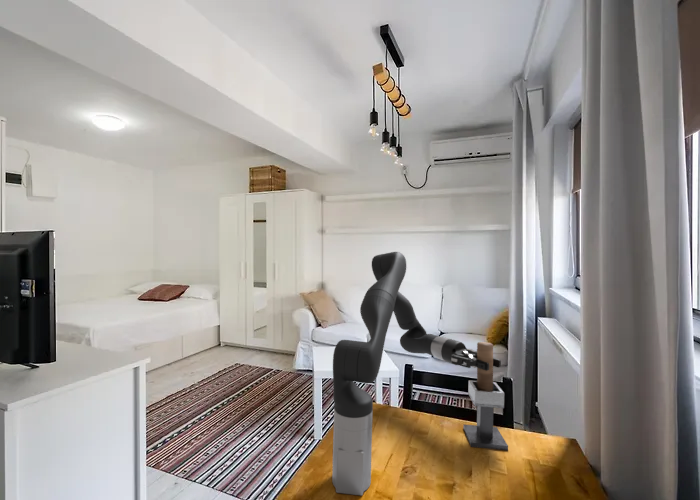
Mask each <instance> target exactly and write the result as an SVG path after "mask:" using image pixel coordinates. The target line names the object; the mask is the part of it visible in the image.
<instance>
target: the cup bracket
mask: <svg viewBox="0 0 700 500" xmlns="http://www.w3.org/2000/svg"><path fill="white" fill-rule="evenodd" d="M467 391H468V393H467V394H468V396H469V397H470V400H471V402H472V404H473V405H474V406H475V407H477V408H476V425H475V424H474V425H472V424H465V423H464V424H463V427H462V428H463V431H464V432H465V436H466V438H467V440H468V443H469V446H470V448H480V449H489V450H490V449H491V450H492V449H493V450H502V451H509V445H508V443H507V442H506V440H505V438H504V437H503V435H502V434H501V432H500V430H499V429H498V427H496V426H494V408H496V409H505V392H504V391H503V389H502V388H501V387H500V386H499V385H498V383H497V382H494V381H493V391H483V390H477V380H468V390H467Z"/></svg>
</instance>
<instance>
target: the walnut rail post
mask: <svg viewBox="0 0 700 500" xmlns="http://www.w3.org/2000/svg"><path fill="white" fill-rule="evenodd" d="M476 348H477V349H476V351H477V360H481V361H484V362H487V363H489V370H488V371H486V370H483V369H480V368H477V367H476V374H477V375H476V381H477V390H483V391H493V382H494V366H493V358H494V344H493V343H491V342H487V341H479V342H477V343H476Z"/></svg>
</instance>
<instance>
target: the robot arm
mask: <svg viewBox="0 0 700 500" xmlns="http://www.w3.org/2000/svg"><path fill="white" fill-rule="evenodd" d="M371 269H372V270H371V271H372V273H373V275H374V277H375V280H376V282H374V283H373V284H372V285H371V286H370V287H369V288H368V289H367V290H366V292H365V295H364V296H363V299H362V301H361V305H360V310H359V312H360V316H361V318H362V321H363V323H364V326H365V327H366V329H367V331H368V334H369V336H370V337H369V338H370V339H369V340H368V341H361V340H360V341H359V340H351V339H350V340H349V339H339V341H337V343H336V345H335V347H334V350H333V355H332V356H333V357H332V380H333V381H332V383H333V384H332V386H333V387H332V389H333V390H332V392H333V393H332V395H333V405H334V406H333V434H332V435H333V438H332V441H333V442H332V475H331V476H332V477H331V478H332V481H331V483H332V485H333V487H335V493H337V494H345V495H354V496H363V495H364V492H365V491H367V490H368V489H369V488H370V486H371V482H372V451H373V450H372V448H373V445H372V444H373V442H372V441H373V406H374V404H373V403H374V401H373V398H372V396H371V394H370V393H368V392H367V391H366V390H364V389H362V388H361V387H359V386H358V385H357V384H356V382H357V383H361V384H372V383H374V382H375V381H376V379H377V377H378V375H379V373H380V368H381V362H382V358H383V352H384V348H385V347H384V346H385V342H386V336H387V333H388V328H389V326H390V322H391V319H392V315H393V314H394V316H395V319H396V323H397V324H398V326H399V328H400V329H402V330H404V331H406V332H404V333H403V334H402V335H401V337H400V339H399V344H400V346H401V347H402V349H404V351H406V352H408V353H412V354H423V355H424V354H427V355H430V356H432V357H435V358H437V359H439V360H441V361H444V362H447V363H449V364H452V365H455V366H459V367H464V368H467V369H470V368H471V367H472V368H474V369H475V368H476V369H477V368H480V369H483V370H486V371H488V370H489V363H487V362H484V361H481V360H477V350H473V349H472V348H467V347H466V344H464V343H463V341H459V340H455V339H452V338H449V337H444V336H439V335H437V334H436V335H435V334H434V333H427V331H426V329H425V328H424V327H423V325H422V324H421V323H420V321H419V320H418V319H417V316H416V314H415V311H414V310H415V309H414V307H413V305H412V303H411V302H410V300H409V299H408V298H407V297H406V296H404V295H403V294H402V293H401V292H400V291H399V290H400V288H401V285H402V282H403V281H404V278H405V276H406V273H407V260H406V257H405V254H403V253H402V252H401V251H392V252H385V253H381V254H376V255H375V256H373V258H372V259H371ZM501 362H502V361H501V359H499V358H495V357H493V367H495V368H501V366H502V363H501Z"/></svg>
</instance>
